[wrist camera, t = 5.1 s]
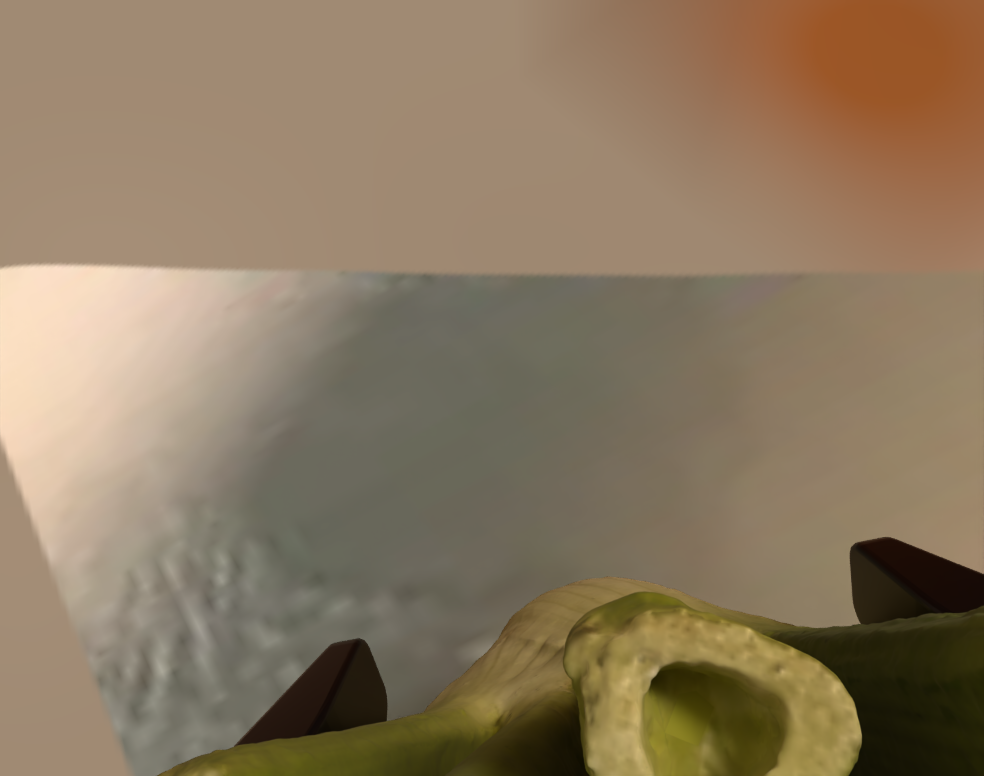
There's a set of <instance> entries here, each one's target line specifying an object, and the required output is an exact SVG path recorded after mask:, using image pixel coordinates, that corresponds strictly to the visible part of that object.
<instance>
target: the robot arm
mask: <svg viewBox="0 0 984 776" xmlns="http://www.w3.org/2000/svg"><path fill="white" fill-rule="evenodd" d="M850 568H851V583H852V597H853V604H854V609H855V612H856V614H857V617H858V619H859V621H860V623H861V624H864V625H869V624H872V623H883V622H886V621H891V620H894V619H898V618H900V619H908V618H914V617H918V616H921V615H924V614H929V613H934V614H938V613H942V614H943V613H965V612H969V611H970V610H974V609H977V608H979V607H981V606H984V574H982V573H980V572H977V571H975V570H972V569H970V568H967V567H965V566H962V565H960V564H957V563H955V562H952V561H950V560H947V559H944V558H942V557H939V556H937V555H934V554H932V553H929V552H927V551H924V550H922V549H919V548H917V547H914V546H912V545H909V544H907V543H904V542H902V541H899V540H897V539H894V538H891V537H882V538H877V539H872V540H866V541H861V542H857V543H855V544H854V545H853V546H852V547H851V550H850ZM385 721H387V694H386V690H385V686H384V684H383V681H382V678H381V676H380V673H379V671H378V668H377V666H376V663H375V661H374V658H373V656H372V653H371V650H370V648H369V646H368V644H367V643H366V642H365V640H363V639H360V638H357V639H352V640H347V641H342V642H337V643H333V644H331V645H330V646H329V647H328V648H327V649H326V650H325V651H324V652H323V653H322V654H321V655H320V656H319V657H318V658H317V659H316V660H315V661H314V662H313V663H312V664H311V665H310V667H309V668H308V669H307V670H306V671H305V672H304V673H303V674H302V675H301V676H300V677H299V678H298V679H297V680H296V681H295V682H294V683H293V684H292V686H291V687H290V688H289V689H288V690H287V691H286V692H285V693H284V694H283V695H282V696H281V697H280V698H279V699H278V700H277V701H276V702H275V703H274V705H273V706H272V707H271V708H270V709H269V710H268V711H267V712H266V713H265V714H264V715H263V716H262V717H261V718H260V719H259V720H258V721H257V722H256V723H255V725H254V726H253V727H252V728H251V729H250V730H249V731H248V732H247V733H246V734H245V735H244V736H243V737H242V738H241V739H240V740H239V741H238V742H237V744H236V745H235V746H237V745H243V744H251V743H255V744H256V743H260V742H264V741H270V740H274V739H290V738H299V737H302V736H308V735H317V734H321V733H325V732H333V731H343V730H347V729H351V728H355V727H359V726H363V725H369V724H375V723H380V722H385ZM235 746H234V747H235Z"/></svg>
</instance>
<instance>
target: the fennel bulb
mask: <svg viewBox="0 0 984 776" xmlns="http://www.w3.org/2000/svg"><path fill="white" fill-rule="evenodd" d="M157 776H984V606H981V607H979V608H977V609H974V610H970V611H969V612H965V613H943V614H942V613H938V614H934V613H929V614H924V615H921V616H918V617H914V618H908V619H900V618H898V619H894V620H891V621H886V622H883V623H872V624H869V625H864V624H857V625H852V626H844V627H839V626H833V627H829V628H811V627H797V626H794V625H791V624H787V623H781V622H778V621H775V620H772V619H768V618H765V617H761V616H755V615H750V614H746V613H743V612H738V611H733V610H728V609H724V608H721V607H718V606H715V605H713V604H710V603H707V602H705V601H702V600H699V599H696V598H694V597H691V596H689V595H686V594H685V593H683V592H681V591H678V590H676V589H669V588H665V587H663V586H661V585H656V584H654V583H649V582H646V581H637V580H633V579H628V578H618V577H608V576H607V577H604V578H596V579H585V580H581V581H577V582H574V583H571V584H568V585H566V586H564V587H561V588H557V589H554V590H551V591H548V592H546V593H544V594H542V595H540V596H539V597H537V598H536V599H534V600H533V601H532V602H530V603H528V604H527V605H526V606H525V607H524V608H522V609H521V610H520V611H518V612H517V613H515V614H514V615H513V616H512V617H511V619H510V620H509V622H508V623H507V625H506V626H505V627H504V629H503V631H502V633H501V635H500V636H499V638H498V640H497V641H496V642H495V643H494V644H493V645H492V647H491V648H490V649H489V650H488V652H487V653H485V654H484V655H483V656H482V657H481V658H479V659H478V660H477V661H476V662H475V663H474V664H473V665H472V666H471V667H470V669H468V670H467V671H466V672H465V673H464V674H463V675H462V676H461V677H460V678H458V679H456V680H455V681H454V682H452V683H451V684H449V685H448V686H447V687H446V688H445V690H444V691H443V692H441V693H440V694H439V695H438V696H437V698H436V699H435V700H434V701H433V702H432V703H431V704H430V705H429V706H428V707H427V708H426V710H425V711H424V712H423V713H420V714H415V715H410V716H407V717H402V718H399V719H395V720H391V721H385V722H380V723H375V724H369V725H363V726H359V727H355V728H351V729H347V730H343V731H333V732H325V733H321V734H317V735H308V736H302V737H299V738H290V739H274V740H270V741H264V742H260V743H256V744H255V743H251V744H243V745H237V746H235V747H232V748H230V749H227V750H215V751H213V752H212V753H210V754H205V755H201V756H198V757H195V758H193V759H191V760H189V761H186V762H184V763H182V764H179V765H177V766H175V767H173V768H172V769H170V770H168V771H165V772H163V773H161V774H159V775H157Z"/></svg>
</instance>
